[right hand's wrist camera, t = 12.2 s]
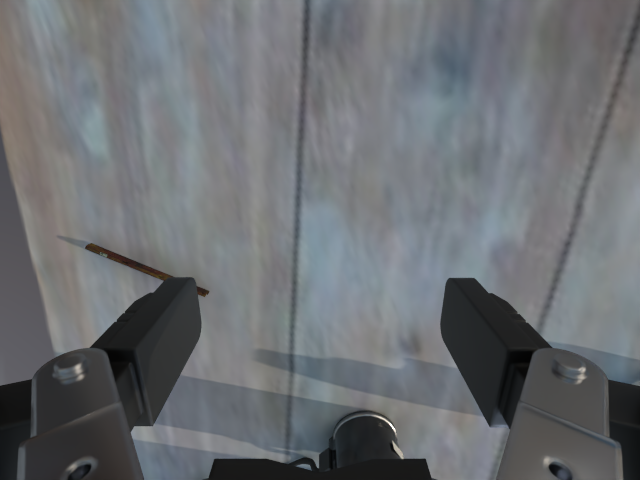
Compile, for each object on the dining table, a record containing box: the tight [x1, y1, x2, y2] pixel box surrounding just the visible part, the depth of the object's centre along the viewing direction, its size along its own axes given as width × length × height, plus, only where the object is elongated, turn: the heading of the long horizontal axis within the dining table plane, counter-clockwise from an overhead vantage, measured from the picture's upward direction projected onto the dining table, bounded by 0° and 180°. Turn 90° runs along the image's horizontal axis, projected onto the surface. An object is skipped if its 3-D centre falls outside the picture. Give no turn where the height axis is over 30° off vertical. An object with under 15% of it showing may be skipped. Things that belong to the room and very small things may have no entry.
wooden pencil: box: [85, 243, 209, 297], centre depth 43 cm, size 15×1×1 cm, turn 64°
